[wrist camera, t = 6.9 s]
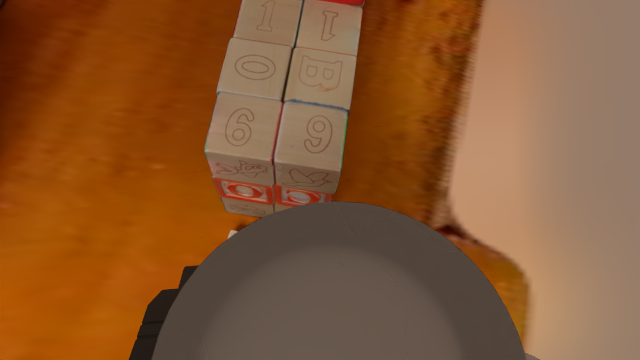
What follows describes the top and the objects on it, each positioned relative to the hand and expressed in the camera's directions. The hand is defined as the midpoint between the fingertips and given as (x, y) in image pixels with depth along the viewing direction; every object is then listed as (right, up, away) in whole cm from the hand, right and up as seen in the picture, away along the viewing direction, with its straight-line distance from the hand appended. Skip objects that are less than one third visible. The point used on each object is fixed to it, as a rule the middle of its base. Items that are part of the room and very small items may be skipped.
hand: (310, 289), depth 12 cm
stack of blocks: (-1, +10, +22) cm, 24 cm away
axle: (0, -4, +4) cm, 5 cm away
